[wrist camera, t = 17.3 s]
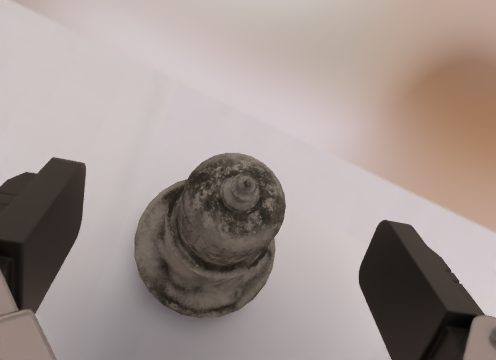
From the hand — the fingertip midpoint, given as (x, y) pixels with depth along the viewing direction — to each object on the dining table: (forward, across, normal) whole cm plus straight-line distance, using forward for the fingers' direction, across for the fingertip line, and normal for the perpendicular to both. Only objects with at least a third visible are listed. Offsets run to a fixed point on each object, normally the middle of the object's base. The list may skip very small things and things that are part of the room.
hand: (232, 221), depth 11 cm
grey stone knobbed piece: (+8, 0, +7) cm, 10 cm away
